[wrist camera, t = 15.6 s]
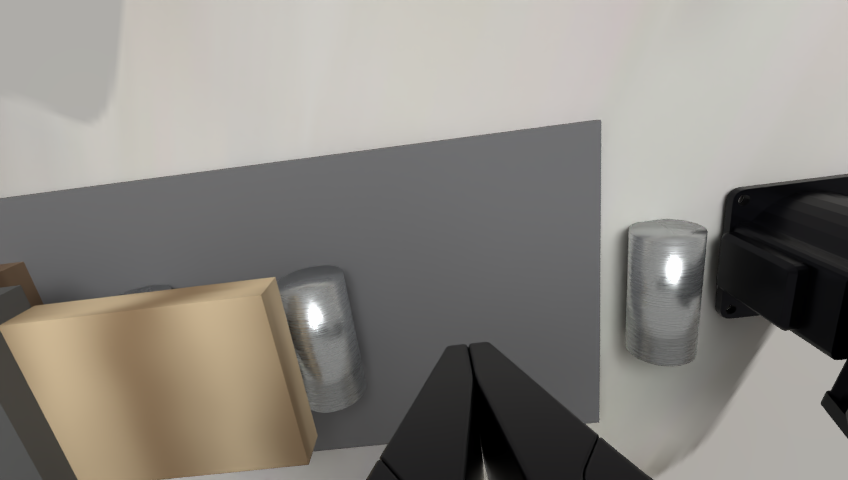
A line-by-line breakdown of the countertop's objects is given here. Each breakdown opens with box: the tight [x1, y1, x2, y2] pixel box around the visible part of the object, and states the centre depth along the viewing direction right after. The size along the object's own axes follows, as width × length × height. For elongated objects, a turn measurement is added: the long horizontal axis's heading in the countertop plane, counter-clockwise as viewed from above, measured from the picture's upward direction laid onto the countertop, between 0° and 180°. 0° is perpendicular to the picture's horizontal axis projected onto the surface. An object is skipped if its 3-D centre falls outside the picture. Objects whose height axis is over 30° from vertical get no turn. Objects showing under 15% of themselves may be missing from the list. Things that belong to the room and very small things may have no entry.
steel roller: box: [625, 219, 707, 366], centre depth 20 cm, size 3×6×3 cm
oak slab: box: [0, 277, 318, 480], centre depth 18 cm, size 10×8×2 cm
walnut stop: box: [0, 262, 78, 480], centre depth 19 cm, size 6×10×6 cm, turn 7°
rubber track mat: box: [0, 120, 601, 451], centre depth 22 cm, size 30×16×1 cm, turn 97°
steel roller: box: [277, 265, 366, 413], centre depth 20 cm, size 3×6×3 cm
